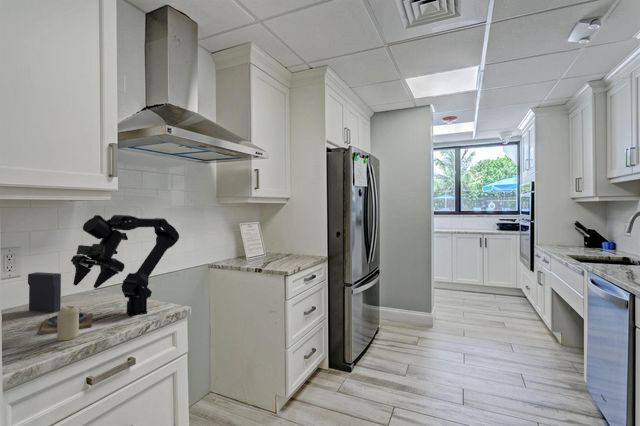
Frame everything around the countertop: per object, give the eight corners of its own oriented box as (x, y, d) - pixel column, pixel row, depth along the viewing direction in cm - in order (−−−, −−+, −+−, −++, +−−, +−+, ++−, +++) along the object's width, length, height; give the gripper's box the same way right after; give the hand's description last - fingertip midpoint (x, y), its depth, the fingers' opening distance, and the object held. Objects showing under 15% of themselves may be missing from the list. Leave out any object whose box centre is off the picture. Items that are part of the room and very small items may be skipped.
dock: (92, 315, 127) (92, 309, 127) (91, 327, 115) (91, 320, 115) (45, 321, 119) (45, 314, 119) (39, 334, 108) (39, 327, 108)
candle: (56, 342, 102) (57, 310, 102) (57, 336, 107) (58, 305, 107) (78, 338, 106) (78, 307, 106) (78, 332, 110) (79, 303, 110)
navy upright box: (62, 310, 132) (62, 273, 132) (52, 313, 128) (53, 275, 128) (37, 308, 134) (38, 271, 133) (27, 311, 129) (27, 273, 129)
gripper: (70, 233, 115) (43, 274, 107) (111, 236, 110) (85, 280, 102) (95, 247, 124) (72, 286, 116) (134, 250, 119) (112, 292, 111)
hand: (84, 286), depth 111 cm, fingers open, 9 cm apart
